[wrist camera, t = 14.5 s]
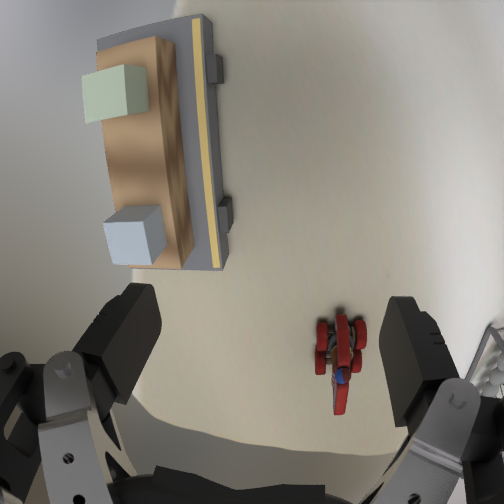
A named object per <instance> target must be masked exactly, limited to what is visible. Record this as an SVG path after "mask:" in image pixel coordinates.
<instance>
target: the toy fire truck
mask: <svg viewBox="0 0 504 504" xmlns="http://www.w3.org/2000/svg"><path fill="white" fill-rule="evenodd" d="M366 343H367V329H366V323H365V321H363V320H357V321H354V323H353V327H351V326H349V327H348V320H347V316H346V315H336V316H335V329H334V333H328V324H327V323H317V349H315V374H316V375H324V374H325V373H326V364H333V366H332V386H333V408H334V415H343V414H344V413H345V409H346V403H347V396H348V390H349V380H350V379H351V373H358V372H360V371H361V368H362V353H361V349H364V348H365V347H366ZM328 348H329V351H330V352H331V358H326V351H327V349H328ZM349 369H350V370H349Z"/></svg>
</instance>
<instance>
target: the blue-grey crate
mask: <svg viewBox="0 0 504 504" xmlns="http://www.w3.org/2000/svg"><path fill="white" fill-rule="evenodd" d="M103 226H104V231H105V235H106V239H107V242H108V246H109V251H110V254H111V258H112V262H113V264H124V265H126V264H127V265H153V263H154V262H155V260H156V259H157V258H158V256H159V255H160V254H161V252H162V251H163V250H164V249H165V247H166V246H167V245H168V244H167V238H166V232H165V226H164V220H163V214H162V208H161V205H145V206H127V207H123V208H121V209H120V210H119V211H117V212H116V213H115V214H114V215H112V216H111V217H110V218H108V219H107V220H106V221H105V222H103Z"/></svg>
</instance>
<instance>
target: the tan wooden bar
mask: <svg viewBox="0 0 504 504" xmlns="http://www.w3.org/2000/svg"><path fill="white" fill-rule="evenodd" d="M96 56H97V71H101V70H104V69H108V68H111V67H115V66H119V65H123V64H126V65H134V66H141V67H146V69H147V85H148V99H149V111H148V112H142V113H136V114H130V115H125V116H119V117H114V118H109V119H104V120H101V122H102V130H103V137H104V145H105V153H106V159H107V165H108V172H109V178H110V183H111V189H112V195H113V200H114V205H115V210H116V212H117V211H119V210H120V209H121V208H123V207H127V206H145V205H161V208H162V214H163V220H164V226H165V232H166V238H167V244H168V245H167V246H166V247H165V249H164V250H163V251H162V252H161V254H160V255H159V256H158V258H157V259H156V260H155V262H154V263H153V265H128V267H130V268H162V269H182V267H183V265H184V264H185V262H186V260H187V259H188V257H189V255H190V253H191V252H192V250H193V248H194V247H195V244H194V237H193V230H192V222H191V214H190V206H189V198H188V190H187V181H186V172H185V163H184V153H183V143H182V132H181V121H180V109H179V96H178V82H177V66H176V48H175V44H174V43H172V42H169V41H167V40H164V39H162V38H159V37H157V36H153V37H148V38H144V39H140V40H136V41H132V42H129V43H125V44H121V45H118V46H115V47H111V48H108V49H105V50H102V51H99V52H96Z"/></svg>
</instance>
